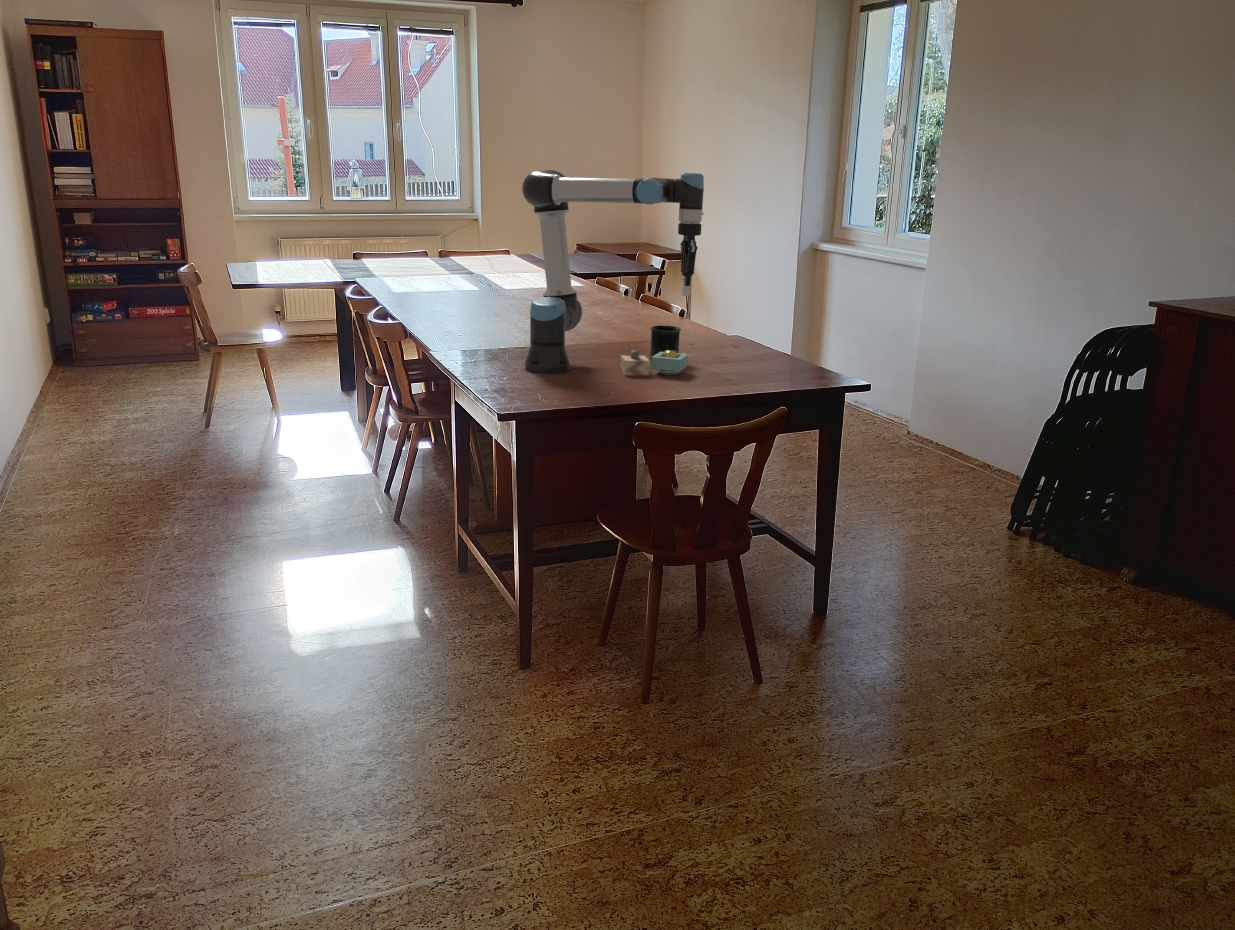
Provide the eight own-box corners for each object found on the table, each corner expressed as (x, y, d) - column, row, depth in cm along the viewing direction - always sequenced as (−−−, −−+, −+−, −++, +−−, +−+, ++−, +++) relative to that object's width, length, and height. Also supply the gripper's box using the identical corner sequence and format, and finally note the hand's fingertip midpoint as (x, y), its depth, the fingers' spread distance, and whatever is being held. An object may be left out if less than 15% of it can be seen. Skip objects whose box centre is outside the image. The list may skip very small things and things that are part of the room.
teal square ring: (651, 368, 318) (651, 356, 317) (660, 363, 327) (660, 351, 326) (679, 371, 315) (680, 359, 314) (687, 366, 324) (688, 354, 323)
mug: (658, 365, 333) (659, 331, 330) (639, 357, 346) (640, 324, 342) (684, 363, 338) (686, 330, 334) (665, 355, 350) (666, 323, 347)
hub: (660, 375, 317) (661, 353, 315) (655, 370, 325) (656, 349, 323) (683, 375, 319) (684, 353, 316) (678, 370, 326) (679, 348, 324)
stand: (624, 375, 316) (625, 353, 314) (620, 369, 324) (620, 348, 322) (649, 375, 318) (650, 353, 315) (644, 369, 325) (644, 348, 323)
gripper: (706, 224, 302) (701, 298, 309) (696, 221, 314) (692, 292, 321) (683, 223, 300) (679, 298, 308) (674, 220, 312) (670, 292, 320)
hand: (686, 295), depth 314 cm, fingers closed
